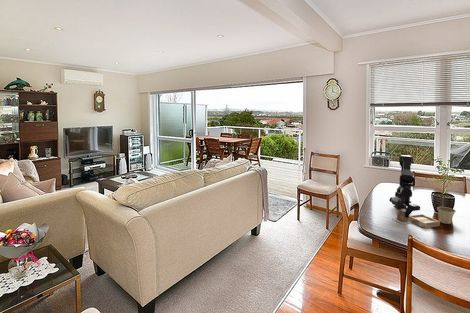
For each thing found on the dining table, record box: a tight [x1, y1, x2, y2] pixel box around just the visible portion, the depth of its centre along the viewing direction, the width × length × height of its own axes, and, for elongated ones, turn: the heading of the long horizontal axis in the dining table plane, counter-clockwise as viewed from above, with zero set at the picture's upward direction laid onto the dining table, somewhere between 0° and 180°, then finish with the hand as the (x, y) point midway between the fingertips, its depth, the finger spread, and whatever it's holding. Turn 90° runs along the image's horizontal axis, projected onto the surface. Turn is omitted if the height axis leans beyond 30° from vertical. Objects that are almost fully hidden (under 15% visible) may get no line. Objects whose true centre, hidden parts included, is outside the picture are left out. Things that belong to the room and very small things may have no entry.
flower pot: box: [436, 206, 457, 225], centre depth 168 cm, size 9×9×9 cm
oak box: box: [408, 213, 441, 229], centre depth 168 cm, size 12×11×3 cm
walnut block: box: [396, 209, 410, 222], centre depth 171 cm, size 4×4×7 cm
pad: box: [392, 217, 414, 225], centre depth 172 cm, size 8×8×1 cm
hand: (402, 216), depth 171 cm, fingers open, 5 cm apart
